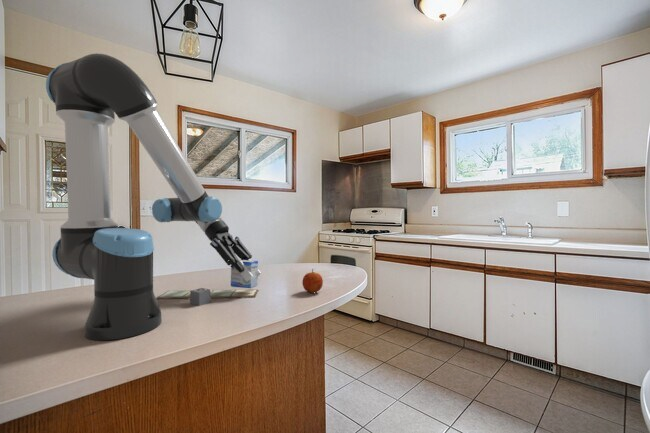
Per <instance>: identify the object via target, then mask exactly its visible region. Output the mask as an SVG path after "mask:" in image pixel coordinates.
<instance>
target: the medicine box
mask: <svg viewBox="0 0 650 433" xmlns="http://www.w3.org/2000/svg"><path fill="white" fill-rule="evenodd" d="M238 260H239V262H240V261H242V262H243V263H244V265H245V266H246V267H247V268H248V270H249V271H250V272H251V273H252V275H253V277H252V278H251V279H250V280H249V281H246V280H245V279H244V277H243V276H242V275H241V274H240V272H239V271H238V270H237V269H236V267H235V266H234V267H233V268H231V267H230V269H231V270H230V287H232V288H243V289H253V288H256V287H257V286H258V285H259V284H258V280H259V279H258V277H259V276H258V269H259V261H258V260H252V259H251V260H241V259H238Z"/></svg>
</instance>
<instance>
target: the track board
mask: <svg viewBox="0 0 650 433" xmlns="http://www.w3.org/2000/svg"><path fill="white" fill-rule="evenodd" d="M258 289H259V288H258ZM258 289H257V288H255V289H253V288H246V289H210V295H211V299H228V298H229V299H231V298H233V299H234V298H235V297H244V298H256V296H257V295H258V293H259V291H260V289H259V290H258ZM190 291H192V289H191V290H187V289H186V290H167V291H165V292H163V293H162V294H160V295H158V296H157V297H155V298H156V300H171V299H172V300H173V299H174V300H176V299H177V300H178V299H179V300H180V299H185V300H186V299H190ZM257 292H258V293H257ZM256 294H257V295H256ZM235 299H236V298H235Z"/></svg>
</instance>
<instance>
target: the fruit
mask: <svg viewBox="0 0 650 433" xmlns="http://www.w3.org/2000/svg"><path fill="white" fill-rule="evenodd" d="M323 280H324V279H323V276H322V275H321V274H320V273H319V272H314V268H312V270H311V271H310V272H307V273H306V274H304V276H303V278H302V282H301V283H302V287H303V289H304V291H306V292H308V293H309V292H311V293H310V294H315V293H314V292H316V293H317V291H318V292H319V291H320V290H321V289H322V287H323V285H324V284H323V283H324V282H323Z"/></svg>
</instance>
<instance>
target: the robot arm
mask: <svg viewBox="0 0 650 433" xmlns="http://www.w3.org/2000/svg"><path fill="white" fill-rule="evenodd" d="M45 89H46V93H47V96H48V97H49V100H50V101H52V103H53V104H54V105H55V115H56V116H58V117H59V118H60V120H62V121H63V122H64V134H65V135H64V137H65V161H66V162H65V163H66V167H65V168H66V188H67V189H66V191H67V193H66V194H67V195H66V196H67V209H68V210H67V211H68V212H67V215H68V217H67V220H66V221H65V222H64V223H63V224H62V225H60V238H59V239H58V240H57V241H56V242H55V244H54V246H53V249H52V255H51V256H52V260H53V263H54V265H55V266H56V267H57V268H58V269H59V271H61V272H63V273H64V274H66V275H69V276H71V277H74V278H77V279H88V280H93V282H94V285H93V286H94V289H93V293H94V300H93V302H92V305H91V308H90V311H89V313H88V316H87V318H86V322H85V324H84V336H85V337H86V338H88V339H90V340H94V341H110V340H111V341H112V340H118V339H119V340H120V339H126V338H130V337H135V336H140V335H142V334H144V333H148V332H149V331H152V330H154V329H155V328H157V327H159V326H160V325H161V324H162V322H163V321H162V319H163V318H162V311H161V308H160V305H159V303H158V299H156V298H157V297H156V295H155V293H154V250H155V247H154V241H153V236H152V234H151V233H150V232H148V231H146V230H144V229H140V228H139V229H138V228H128V227H119V224H118V223H117V222H116V221H115V220H113V219H112V218H111V216H112V215H111V189H110V185H111V184H110V182H111V181H110V158H109V157H110V155H109V127H110V126H112V125H113V124H114V123H115V122H116V119H115V118H116V116H117V117H118V119H119V120H122V121H124V122H126V123H127V124H128V126H129V128H130V129H131V130H132V132H133V133H134V135H135V136H136V138H137V140H139V142H140V143H141V145H142V147H143V148H144V150H145V151H146V153H147V154H148V156H150V158H151V160H152V161H153V164H155V166H156V167H157V168H158V171H159V172H160V174H162V176H163V177H164V179H165V181H166V182H167V183H168V185H169V186H170V188H171V189H172V191H173V192H174V194H175V195H176V197H166V198H165V197H164V198H159V199H156V200H155V201H154V202H153V204H152V207H151V210H152V211H151V212H152V216H153V218H154V220H155V221H157V222H159V223H170V222H195V224H197V225H198V227H199V228H200V230H202V232H203V233H204V235H205V236H206V237H207V238H208V240H209V241H210V243H209V245H210V246H211V247H212V248H213V249H214V250H215V251H216V252H217V254H218V255H219V256H220V257H221V258H222V260H223V261H224V262H225V264H226V265H227V266H230V269H231V268H233V267H234V266H235V267H236V269H237V270H238V271H239V272H240V274H241V275H242V276H243V277H244V279H245V280H246V281H249V280H250V279H251V278H252V277H253V275H252V273H251V272H250V271H249V270H248V268H247V267H246V266H245V265H244V263H243V262H242V261H240V262H239V260H251V261H252V259H251V258H252V257H253V255H252V253H251V252H250V251H249V249H248V248H246V246H245V244H243V242H242V241H241V240H240V238H239V237H238V236H235V237H233V235H232V234H231V233H229V230H230V227H229V226H228V224H226V222H225V221H224V220H223V219H222V217H221V215H222V213H223V205H222V203H221V201H220V199H218V198H217V197H214V196H209V195H208V193H207V192H206V190H205V188H204V186H203V185H202V183H201V182H200V180H199V178H198V176H197V175H196V173H195V172H194V169H193V168H192V166H191V165H190V163H189V161H188V160H187V158H186V156H185V155H184V153H183V151H182V150H181V148H180V146H179V145H178V143H177V141H176V140H175V139H174V136H173V135H172V133H171V131H170V130H169V128H168V127H167V125H166V123H165V121H164V120H163V118H162V116H161V115H160V113H159V112H158V110H157V108H158V101H157V100H156V98H155V96H154V95H153V94H152V91H150V89H149V87H148V86H147V84H146V83H145V82H144V81H143V79H142V78H141V77H140V76H139V75H138V74H137V73H136V72H135V71H134V70H133V69H132V68H131V67H130V66H129V65H127V64H126V63H124V62H123V61H122V60H119V59H118V58H116V57H114V56H111V55H108V54H106V53H105V54H104V53H91V54H88V55H84V56H82V57H81V58H77V59H75V60H73V61H69V62H65V63H61V64H59V65H58V66H56V67H55V68H53V69H52V70H51V71H50V72H49V73H48V76H47V77H46V81H45ZM115 115H116V116H115ZM261 274H262V272H261V271H260V269H259V268H258V277H259V276H260V275H261Z"/></svg>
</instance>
